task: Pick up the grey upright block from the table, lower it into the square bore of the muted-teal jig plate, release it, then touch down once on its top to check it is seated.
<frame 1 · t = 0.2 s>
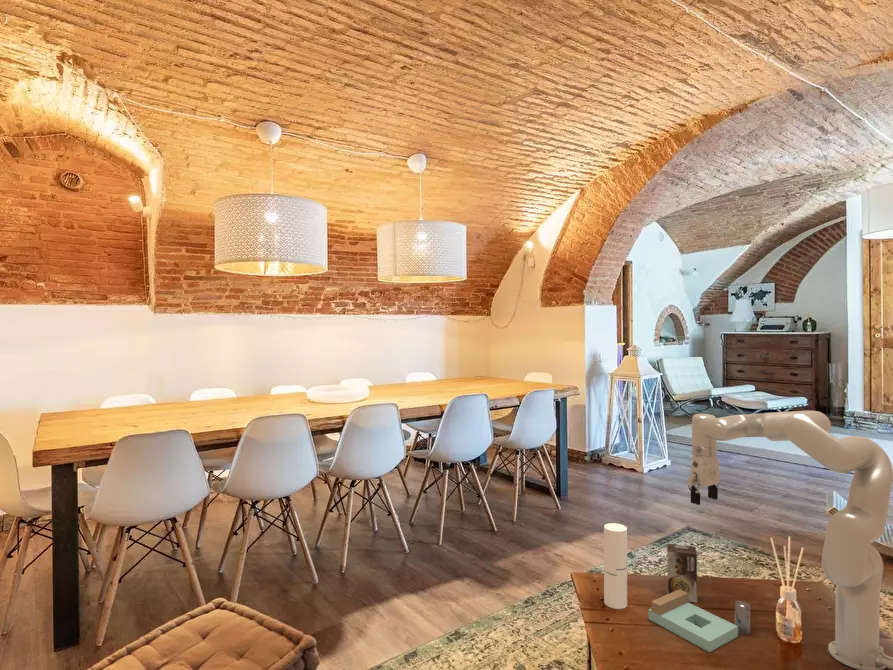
hand: (704, 501, 184), 31 cm above the table, fingers open, 9 cm apart
jig: (691, 627, 163), on the table
coffee box: (681, 597, 181), on the table
grey upright block: (742, 630, 161), on the table
cylindrical container: (615, 603, 177), on the table
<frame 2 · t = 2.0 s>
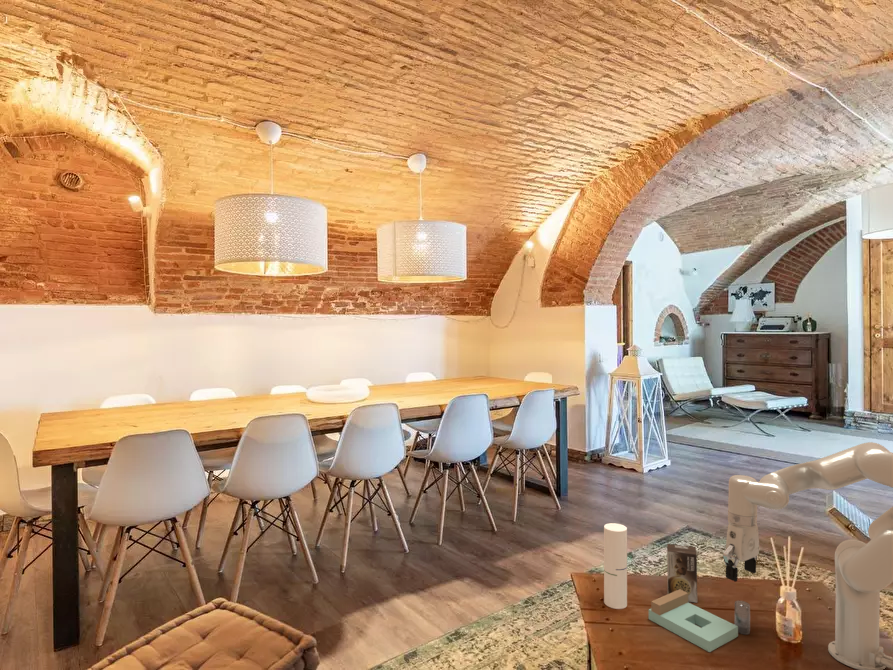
hand: (740, 575, 161), 16 cm above the table, fingers open, 9 cm apart
nothing on the table moved.
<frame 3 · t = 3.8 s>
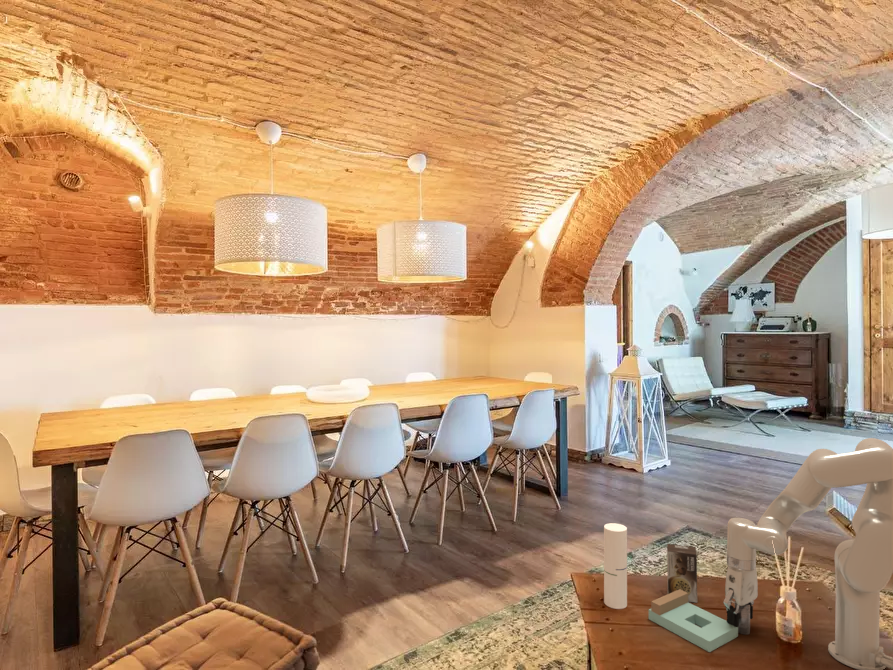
hand: (739, 620, 161), 3 cm above the table, fingers open, 7 cm apart
nothing on the table moved.
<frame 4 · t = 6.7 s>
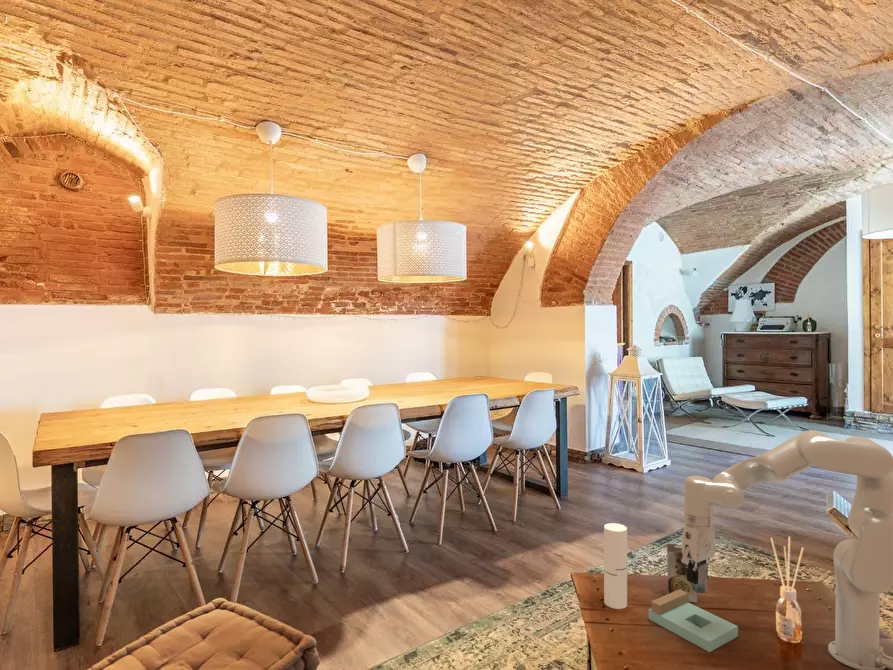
hand: (697, 579, 161), 15 cm above the table, fingers closed on grey upright block, 4 cm apart
grey upright block: (699, 589, 160), point 12 cm above the table, touching gripper
everything else where it was.
when the fingers open (4 cm above the table, at t = 8.9 s): grey upright block stays where it is, resting in jig.
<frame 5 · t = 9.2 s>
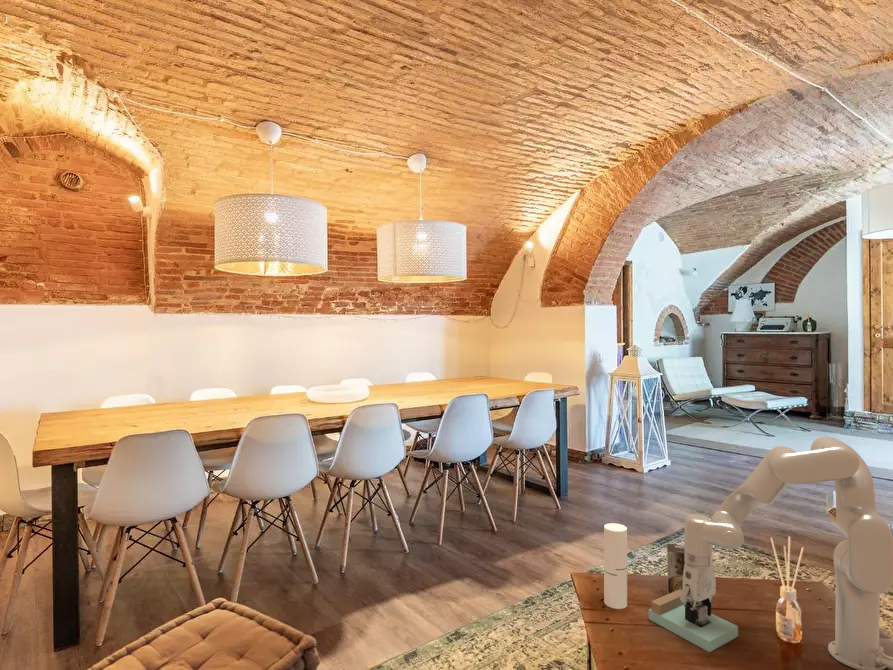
hand: (698, 617, 161), 4 cm above the table, fingers open, 6 cm apart
grey upright block: (699, 631, 161), resting in jig
everything else where it was.
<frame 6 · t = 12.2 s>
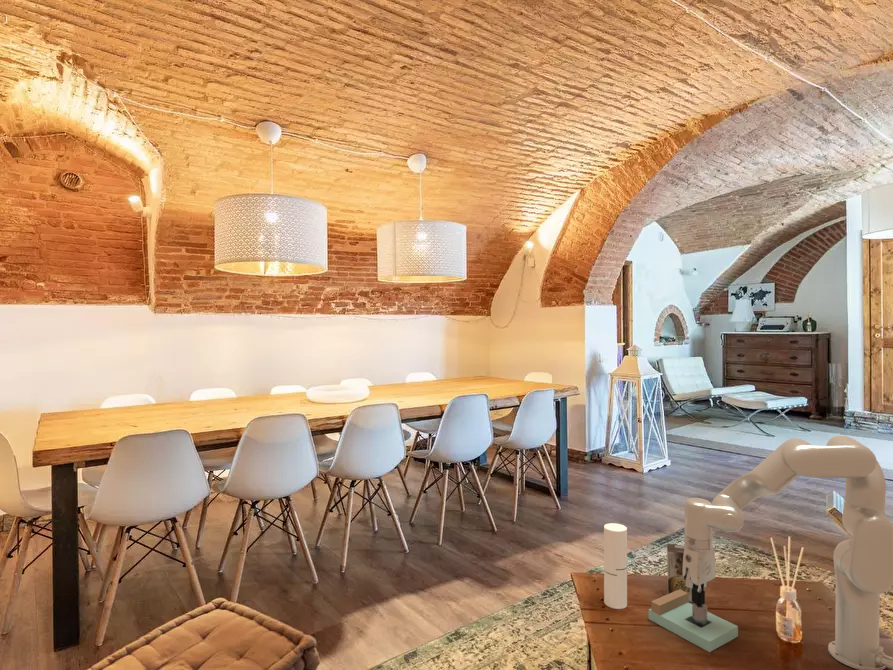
hand: (698, 602, 161), 8 cm above the table, fingers closed
nothing on the table moved.
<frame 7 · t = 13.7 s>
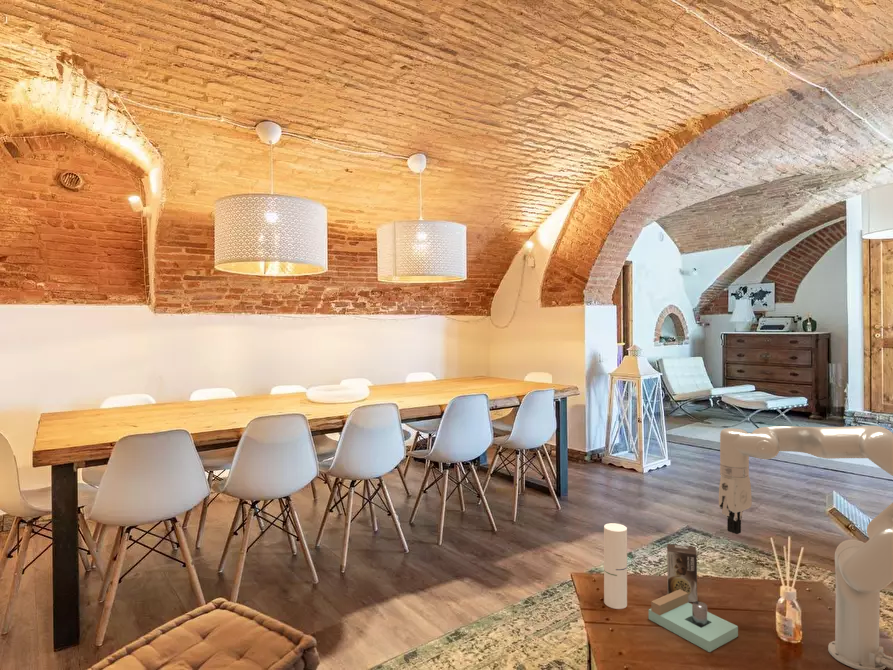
hand: (734, 532, 161), 29 cm above the table, fingers closed
nothing on the table moved.
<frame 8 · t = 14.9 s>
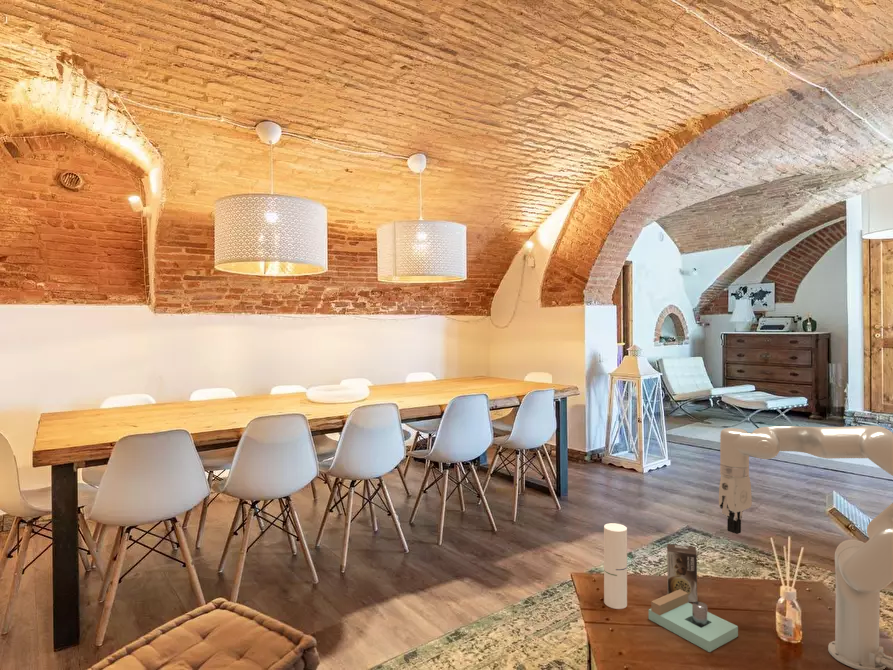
hand: (734, 531, 161), 29 cm above the table, fingers closed
nothing on the table moved.
at the end: grey upright block 0.5 cm from the target spot on the jig, point 0.0 cm above the jig's base; grey upright block tilted 1°; the gripper is holding nothing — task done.
